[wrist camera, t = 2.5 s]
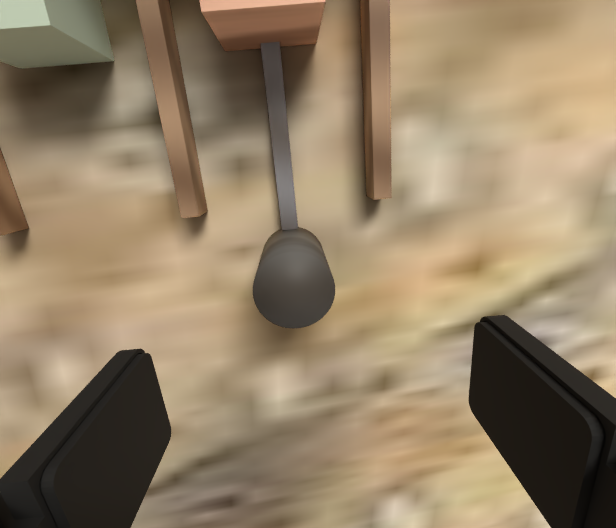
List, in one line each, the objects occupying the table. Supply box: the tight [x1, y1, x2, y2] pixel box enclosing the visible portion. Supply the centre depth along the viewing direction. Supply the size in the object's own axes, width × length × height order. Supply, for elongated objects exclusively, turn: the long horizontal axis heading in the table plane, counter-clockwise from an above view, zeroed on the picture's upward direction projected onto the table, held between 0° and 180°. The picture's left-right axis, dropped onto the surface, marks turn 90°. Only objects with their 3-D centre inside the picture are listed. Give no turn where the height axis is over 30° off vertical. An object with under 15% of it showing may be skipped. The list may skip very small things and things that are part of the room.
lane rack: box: [0, 0, 391, 236], centre depth 14 cm, size 18×23×8 cm
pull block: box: [200, 0, 335, 328], centre depth 16 cm, size 19×5×6 cm, turn 5°
